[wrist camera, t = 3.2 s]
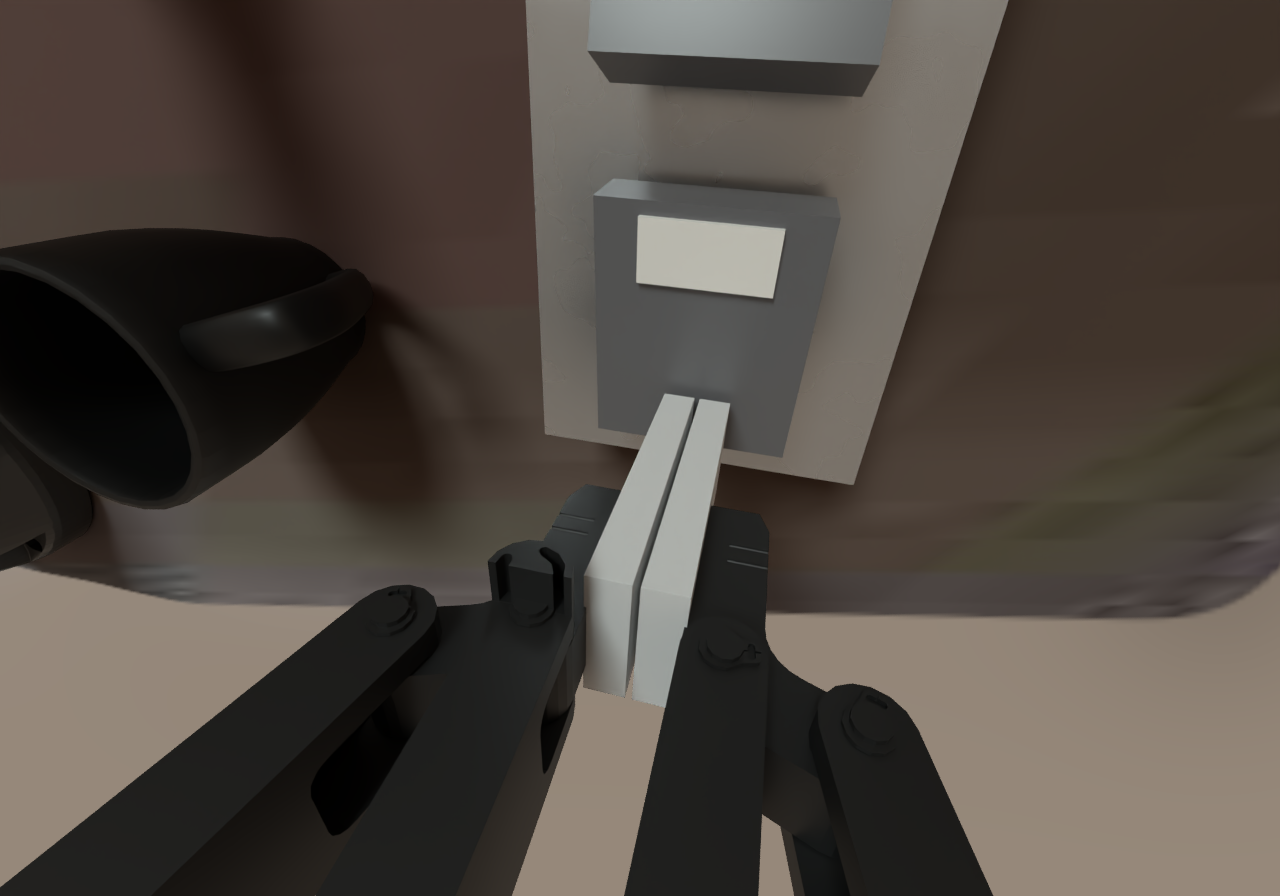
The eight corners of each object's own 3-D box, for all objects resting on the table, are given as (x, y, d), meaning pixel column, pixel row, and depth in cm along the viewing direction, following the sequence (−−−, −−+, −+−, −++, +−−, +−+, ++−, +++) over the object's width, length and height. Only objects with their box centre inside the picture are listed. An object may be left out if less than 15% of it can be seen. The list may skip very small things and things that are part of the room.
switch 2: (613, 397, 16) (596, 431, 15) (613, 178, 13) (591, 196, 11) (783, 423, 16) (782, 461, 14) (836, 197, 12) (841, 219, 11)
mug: (498, 360, 23) (351, 487, 15) (290, 402, 27) (86, 521, 19) (411, 146, 20) (156, 169, 12) (184, 230, 23) (-123, 290, 16)
